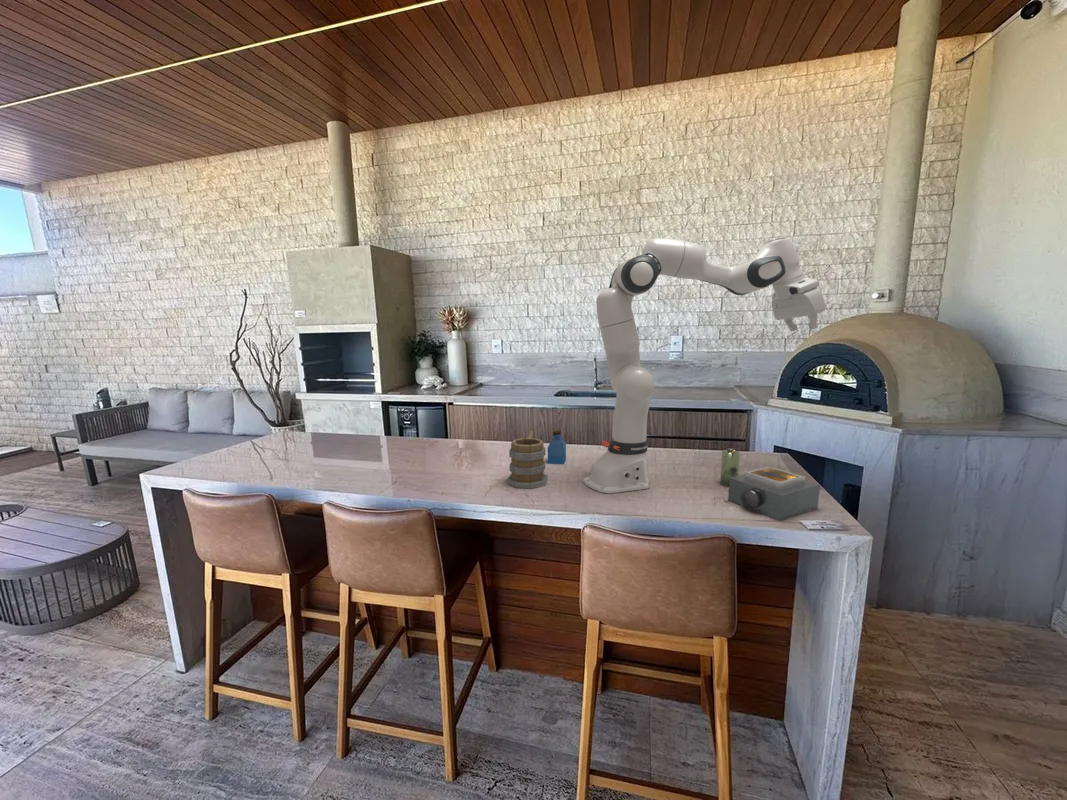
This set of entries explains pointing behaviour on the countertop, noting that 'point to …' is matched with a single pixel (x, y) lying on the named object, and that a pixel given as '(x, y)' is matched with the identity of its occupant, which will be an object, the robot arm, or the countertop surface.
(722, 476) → the spout can
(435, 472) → the countertop surface
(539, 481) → the tankard
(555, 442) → the perfume bottle
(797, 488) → the gearbox housing
